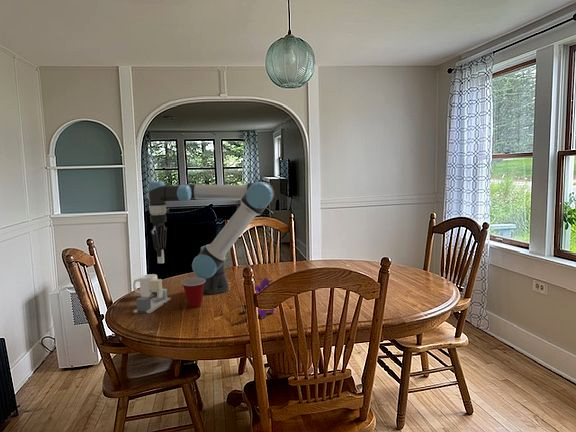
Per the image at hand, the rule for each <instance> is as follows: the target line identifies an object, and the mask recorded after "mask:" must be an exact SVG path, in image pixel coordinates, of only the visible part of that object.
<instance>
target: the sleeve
mask: <svg viewBox="0 0 576 432" xmlns="http://www.w3.org/2000/svg"><path fill="white" fill-rule="evenodd" d="M149 284H150V295H151V294H153V293H155V292H157V296H155V297H154V298H152V299H151V300H160V299H161V298H163V289H164V288H163V279H161V278H157V279H152V280H150V281H149Z"/></svg>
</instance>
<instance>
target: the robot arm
mask: <svg viewBox="0 0 576 432" xmlns="http://www.w3.org/2000/svg"><path fill="white" fill-rule="evenodd" d="M147 186H148V192H147V193H148V203H149V204H148V205H149V207H148V209H149V214H150V215H149V221H150V223H151V224H152V229H150V232H149V233H150V235H151V239H152V244H153V250H155V251H156V255H157V256H156V258H157V264H164V263H165V251H164V250H166V247H167V230H168V226H166V225H165V223H166V222H167V221H168V220H167V219H168V218H167V202H188V201H190V200H214V201H215V200H216V201H217V200H218V201H240V205H239V207H237V210H236V211H235V212H234V213H233V214H232V216H231V217H230V218H229V220H228V221H227V222H226V224H225V225H224V226H223V228H222V229H221V230H220V231H219V233H218V234H217V235H216V236H215V238H214V239H213V241H212V242H211V243H209V244H206V245H203V246H201V247H200V252H199V253H198V255H197V256H195V257H194V258H193V261H192V263H191V267H192V268H191V269H192V271H193V273H194V275H195V276H197V277H201V278H204V279H205V280H206V281H205V283H204V289H203V294H206V295H214V294H215V295H216V294H223V293H225V292H228V291H229V290H230V283H229V281H228V278H227V276H226V263H225V261H226V259H227V258H226V254H228V252H229V251H230V249H231V248H232V247H233V245H234V244H235V243H236V242H237V240H238V239H239V238H240V237H241V235H242V234H243V233H244V231H245V230H246V229H247V228H248V226H249V225H250V224H251V222H252V221H253V220H254V219H255V218H256V217H257V216H261V215H262V214H263V213H264V211H265V210H266V208H267V207H268V206H269V205H270V203H271V202H273V200H274V198H275V189H274V187H273V185H272V184H270V183H269V182H267V181H256V182H247V183H246V184H201V183H200V184H197V183H196V184H195V183H194V184H192V183H191V184H190V183H184V184H177V185H175V184H174V185H173V184H171V185H166V184H165V181H150V182H148V185H147Z"/></svg>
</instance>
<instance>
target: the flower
mask: <svg viewBox="0 0 576 432" xmlns="http://www.w3.org/2000/svg"><path fill="white" fill-rule="evenodd" d="M254 285H255V291H256V293H258V292H260V291H261V290H262V289H264V288H265V287H267V286H268V285H270V281H269V279H268V278H267V277H265V278H263V279H262V280H261V283H259V285H256V284H254ZM270 286H271V285H270ZM242 308H243V310H244V311H245V312H247V311H246V305H245V301H244V303H243V307H242ZM267 312H270V313H272V314H274V313H273V312H275V308H274V309H272V310H261V309H258V312H257V313H258V314H259V315H260V318H261V317H265V316H266V317H267Z"/></svg>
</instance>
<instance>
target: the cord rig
mask: <svg viewBox="0 0 576 432" xmlns="http://www.w3.org/2000/svg"><path fill="white" fill-rule="evenodd" d="M155 296H157V292H155V293H153V294H151V295H150V296H146V297H141V296H140V297H138V298H136V299H135V300H136V308H135V309H134V310H133V313H134V314H135V313H136V314H137V313H139V314H140V313H141V314H151V313H153V312H155V310H157V309H159V308H160V307H162V306H163V305H164V303H165V304H166V303H168V302H169V301H171V299H172V298H171V297H169V296H168V288H163V298H161V299H160V300H151V299H152V298H154V297H155Z"/></svg>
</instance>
